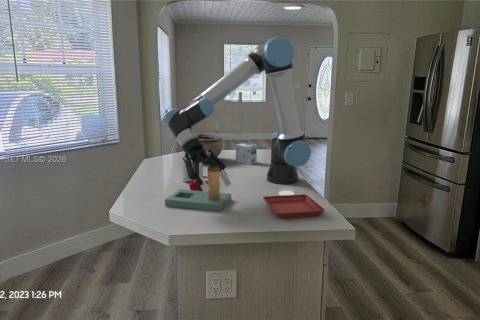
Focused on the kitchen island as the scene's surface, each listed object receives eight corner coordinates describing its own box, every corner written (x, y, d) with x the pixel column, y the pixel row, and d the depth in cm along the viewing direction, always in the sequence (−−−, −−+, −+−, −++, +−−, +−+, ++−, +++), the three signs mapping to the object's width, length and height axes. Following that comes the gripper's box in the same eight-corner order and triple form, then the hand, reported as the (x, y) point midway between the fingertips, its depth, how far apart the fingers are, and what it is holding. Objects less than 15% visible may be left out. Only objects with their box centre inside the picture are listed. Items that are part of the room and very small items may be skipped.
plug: (220, 196, 144) (220, 166, 141) (217, 200, 140) (217, 169, 137) (210, 195, 145) (209, 165, 142) (206, 199, 141) (205, 168, 138)
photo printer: (200, 177, 181) (199, 152, 178) (204, 179, 178) (204, 154, 175) (180, 180, 175) (180, 155, 173) (184, 182, 172) (184, 156, 169)
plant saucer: (325, 218, 130) (325, 209, 130) (276, 221, 127) (276, 212, 126) (305, 201, 148) (306, 194, 147) (262, 204, 144) (262, 196, 143)
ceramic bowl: (202, 155, 234) (202, 131, 231) (230, 160, 221) (230, 135, 218) (177, 161, 216) (176, 136, 213) (205, 166, 204) (205, 139, 200)
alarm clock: (212, 175, 171) (213, 176, 156) (212, 189, 171) (213, 191, 156) (190, 176, 170) (188, 177, 155) (190, 189, 170) (188, 192, 155)
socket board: (231, 199, 148) (231, 193, 148) (220, 211, 135) (220, 204, 134) (180, 194, 154) (180, 189, 153) (165, 205, 141) (164, 199, 140)
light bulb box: (256, 163, 214) (257, 144, 212) (251, 165, 209) (251, 146, 206) (241, 160, 220) (241, 142, 217) (235, 162, 214) (235, 144, 212)
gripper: (206, 145, 157) (234, 187, 151) (162, 152, 140) (190, 200, 133) (215, 133, 153) (244, 176, 146) (170, 140, 135) (201, 189, 129)
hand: (218, 188), depth 140 cm, fingers open, 11 cm apart
